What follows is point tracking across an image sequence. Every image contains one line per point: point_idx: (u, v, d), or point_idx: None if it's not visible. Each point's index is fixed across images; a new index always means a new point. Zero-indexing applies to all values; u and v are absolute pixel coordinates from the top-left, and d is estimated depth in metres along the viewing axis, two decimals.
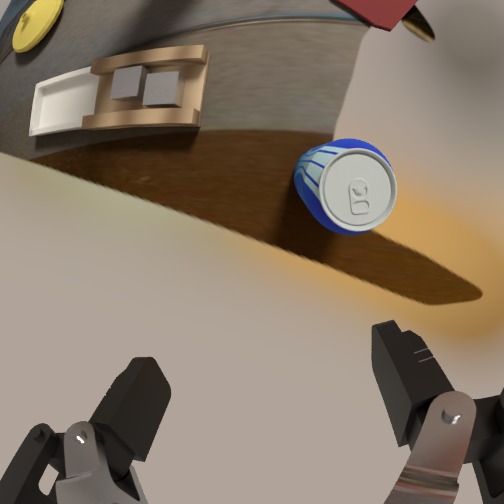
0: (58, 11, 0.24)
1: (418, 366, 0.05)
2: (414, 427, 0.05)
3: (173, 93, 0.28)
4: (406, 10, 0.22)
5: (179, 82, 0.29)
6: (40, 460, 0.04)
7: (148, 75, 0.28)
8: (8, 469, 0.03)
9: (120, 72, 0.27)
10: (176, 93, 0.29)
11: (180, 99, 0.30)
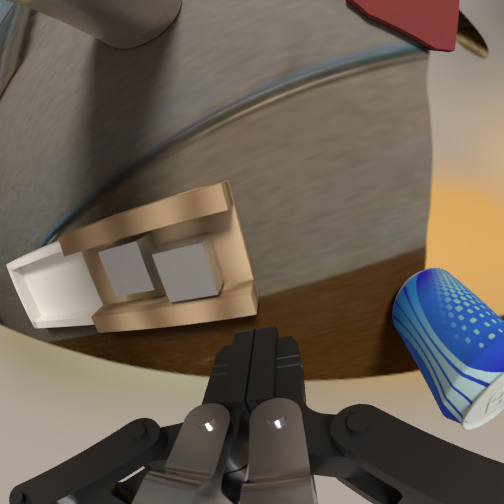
0: None
1: (270, 369, 0.07)
2: None
3: (210, 279, 0.22)
4: (456, 14, 0.12)
5: (209, 256, 0.22)
6: (126, 467, 0.04)
7: (155, 257, 0.21)
8: (80, 455, 0.04)
9: (108, 255, 0.22)
10: (213, 276, 0.22)
11: (219, 273, 0.24)
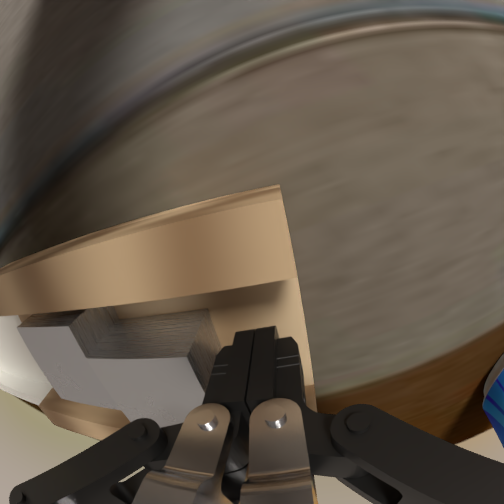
0: None
1: (270, 369, 0.07)
2: None
3: None
4: None
5: (207, 371, 0.09)
6: (126, 467, 0.04)
7: (93, 363, 0.08)
8: (80, 455, 0.04)
9: (32, 338, 0.09)
10: None
11: None
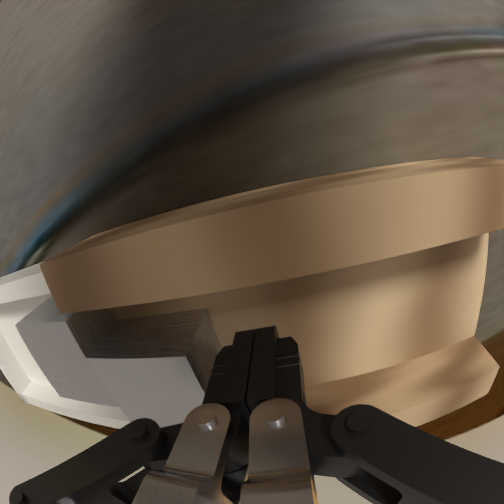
0: None
1: (270, 369, 0.07)
2: None
3: None
4: None
5: (206, 370, 0.09)
6: (126, 466, 0.04)
7: (93, 363, 0.08)
8: (80, 455, 0.04)
9: (30, 335, 0.09)
10: None
11: None
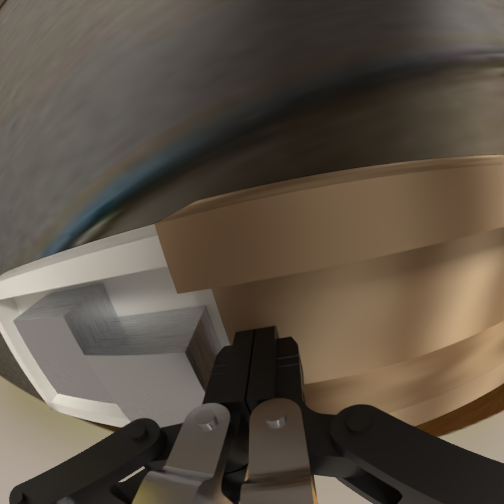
0: None
1: (270, 370, 0.07)
2: None
3: None
4: None
5: (205, 367, 0.09)
6: (126, 466, 0.04)
7: (91, 361, 0.08)
8: (80, 455, 0.04)
9: (28, 331, 0.09)
10: None
11: None
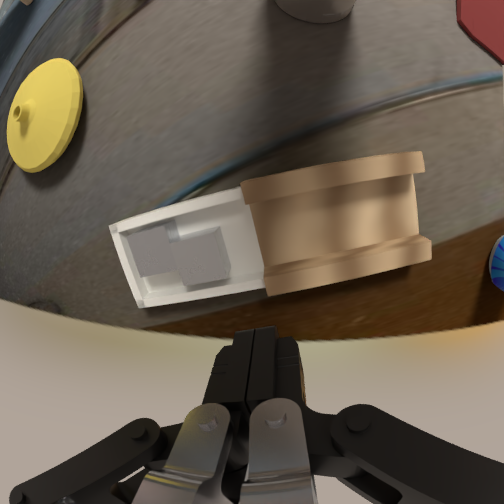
0: (80, 91, 0.22)
1: (270, 369, 0.07)
2: None
3: (220, 264, 0.25)
4: None
5: (219, 244, 0.26)
6: (126, 467, 0.04)
7: (172, 245, 0.25)
8: (80, 455, 0.04)
9: (136, 239, 0.25)
10: (223, 262, 0.26)
11: (227, 261, 0.27)
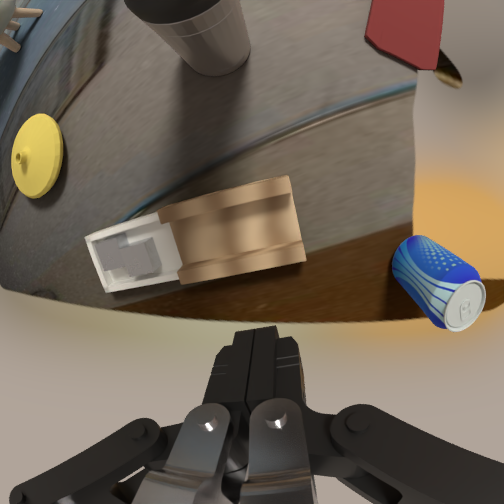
0: (60, 142, 0.33)
1: (270, 369, 0.07)
2: None
3: (149, 263, 0.37)
4: (438, 42, 0.24)
5: (149, 250, 0.37)
6: (126, 466, 0.04)
7: (121, 250, 0.37)
8: (80, 455, 0.04)
9: (100, 246, 0.37)
10: (151, 261, 0.37)
11: (157, 260, 0.39)
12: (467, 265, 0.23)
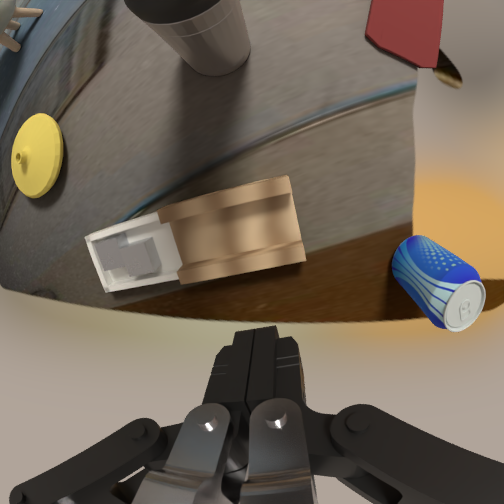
0: (61, 142, 0.33)
1: (270, 369, 0.07)
2: None
3: (149, 263, 0.37)
4: (438, 40, 0.24)
5: (149, 249, 0.37)
6: (126, 466, 0.04)
7: (121, 250, 0.37)
8: (80, 455, 0.04)
9: (100, 246, 0.37)
10: (151, 261, 0.37)
11: (157, 260, 0.39)
12: (467, 265, 0.23)
